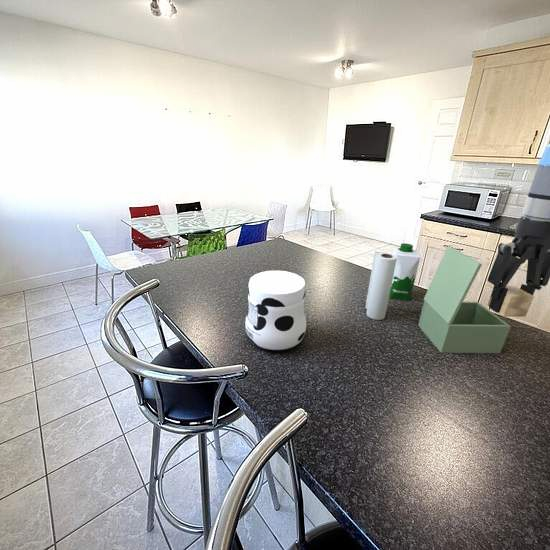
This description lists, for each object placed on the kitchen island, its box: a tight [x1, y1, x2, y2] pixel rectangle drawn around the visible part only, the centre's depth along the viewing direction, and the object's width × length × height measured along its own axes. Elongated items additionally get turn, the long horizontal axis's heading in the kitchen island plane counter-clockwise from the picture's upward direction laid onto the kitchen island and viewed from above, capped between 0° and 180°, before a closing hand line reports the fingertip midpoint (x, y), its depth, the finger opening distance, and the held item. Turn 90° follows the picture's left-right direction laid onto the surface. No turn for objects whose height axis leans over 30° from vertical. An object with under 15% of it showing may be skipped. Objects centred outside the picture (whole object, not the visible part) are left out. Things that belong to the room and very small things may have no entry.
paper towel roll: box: [364, 250, 397, 321], centre depth 94 cm, size 7×6×21 cm
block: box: [487, 285, 535, 318], centre depth 72 cm, size 6×6×6 cm
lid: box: [423, 245, 483, 324], centre depth 79 cm, size 17×14×1 cm
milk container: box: [244, 270, 307, 352], centre depth 81 cm, size 17×17×18 cm
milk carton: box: [389, 242, 421, 301], centre depth 106 cm, size 9×9×20 cm
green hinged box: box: [417, 300, 512, 354], centre depth 85 cm, size 17×14×9 cm
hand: (506, 309), depth 73 cm, fingers closed on block, 6 cm apart
